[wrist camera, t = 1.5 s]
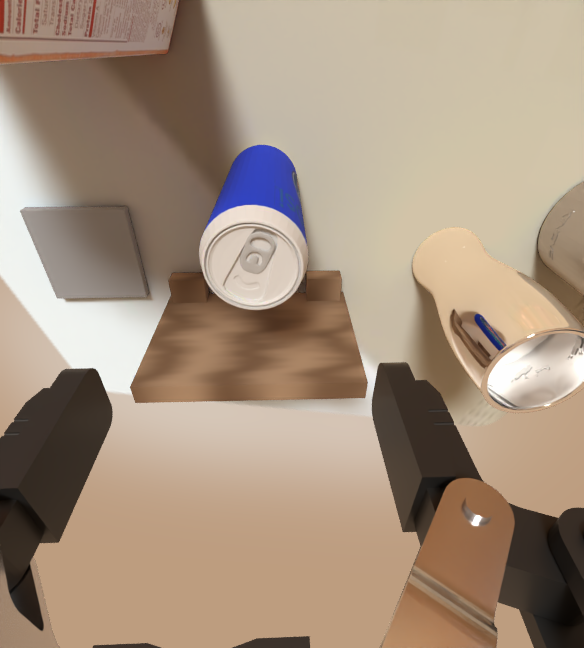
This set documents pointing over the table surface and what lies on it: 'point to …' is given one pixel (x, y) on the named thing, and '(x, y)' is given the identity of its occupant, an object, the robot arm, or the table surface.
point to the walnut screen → (252, 347)
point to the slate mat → (87, 251)
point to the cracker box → (83, 29)
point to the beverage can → (256, 232)
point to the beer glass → (501, 324)
